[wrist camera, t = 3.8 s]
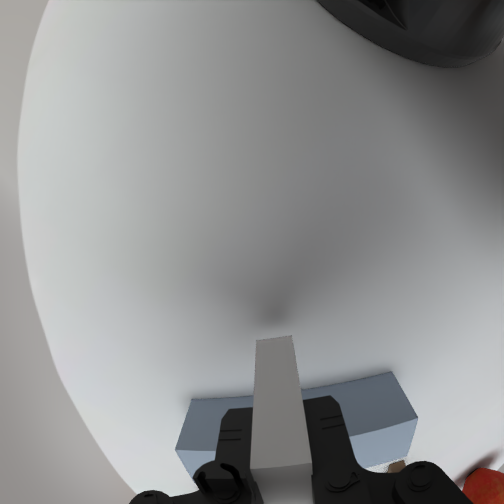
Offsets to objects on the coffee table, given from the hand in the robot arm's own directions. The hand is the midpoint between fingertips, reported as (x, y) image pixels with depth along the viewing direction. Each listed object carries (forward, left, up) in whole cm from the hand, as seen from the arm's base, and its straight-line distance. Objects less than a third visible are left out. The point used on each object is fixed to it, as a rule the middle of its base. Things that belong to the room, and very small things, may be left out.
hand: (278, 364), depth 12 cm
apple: (+32, +24, -5) cm, 40 cm away
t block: (+11, 0, -5) cm, 12 cm away
